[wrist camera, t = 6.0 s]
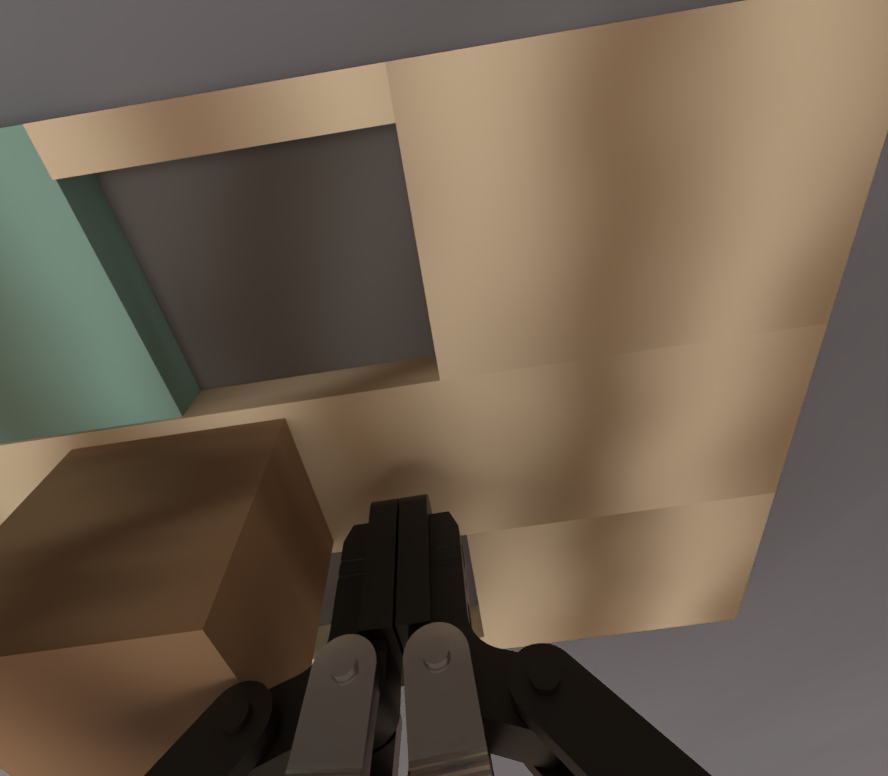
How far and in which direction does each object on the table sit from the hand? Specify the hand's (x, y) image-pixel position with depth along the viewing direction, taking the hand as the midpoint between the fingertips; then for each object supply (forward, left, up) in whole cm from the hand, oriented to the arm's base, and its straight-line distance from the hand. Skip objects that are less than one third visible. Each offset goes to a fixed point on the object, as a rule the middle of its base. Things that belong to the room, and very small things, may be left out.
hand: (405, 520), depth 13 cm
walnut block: (+6, 0, -2) cm, 6 cm away
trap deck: (+1, 0, -4) cm, 4 cm away
